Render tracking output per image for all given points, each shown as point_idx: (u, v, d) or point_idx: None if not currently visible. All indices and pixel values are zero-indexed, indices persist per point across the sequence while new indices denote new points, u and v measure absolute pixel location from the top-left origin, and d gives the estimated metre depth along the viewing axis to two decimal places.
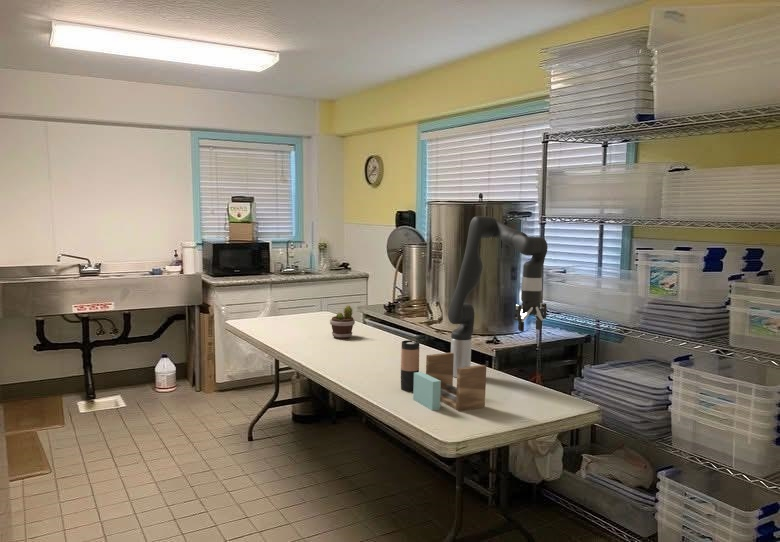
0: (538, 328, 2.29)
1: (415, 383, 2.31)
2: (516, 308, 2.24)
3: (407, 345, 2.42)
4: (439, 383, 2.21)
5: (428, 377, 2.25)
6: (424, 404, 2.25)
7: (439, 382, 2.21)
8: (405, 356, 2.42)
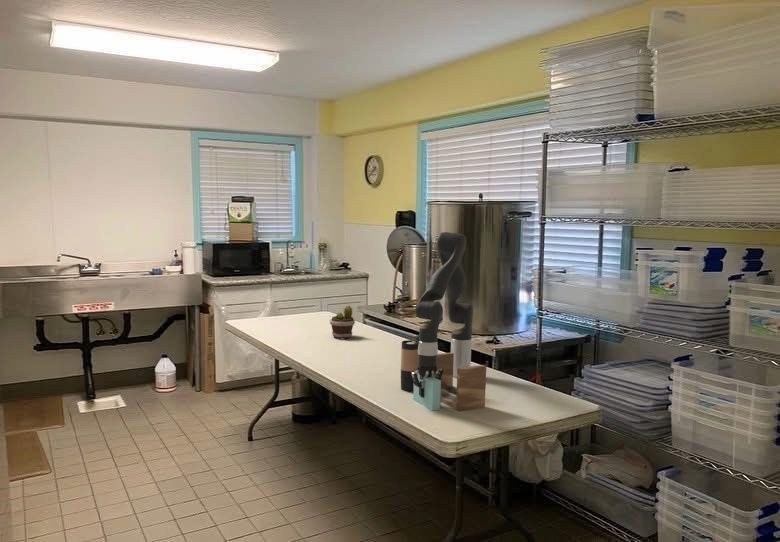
0: None
1: None
2: (412, 376, 2.24)
3: (407, 345, 2.42)
4: (439, 383, 2.21)
5: (428, 377, 2.25)
6: (424, 404, 2.25)
7: (439, 382, 2.21)
8: (405, 356, 2.42)
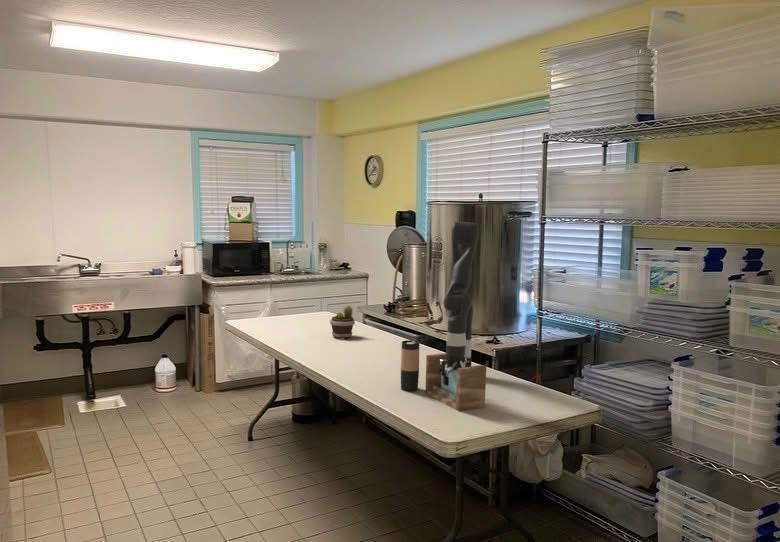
0: None
1: None
2: (440, 363, 2.29)
3: (407, 345, 2.42)
4: None
5: (456, 369, 2.31)
6: None
7: None
8: (405, 356, 2.42)
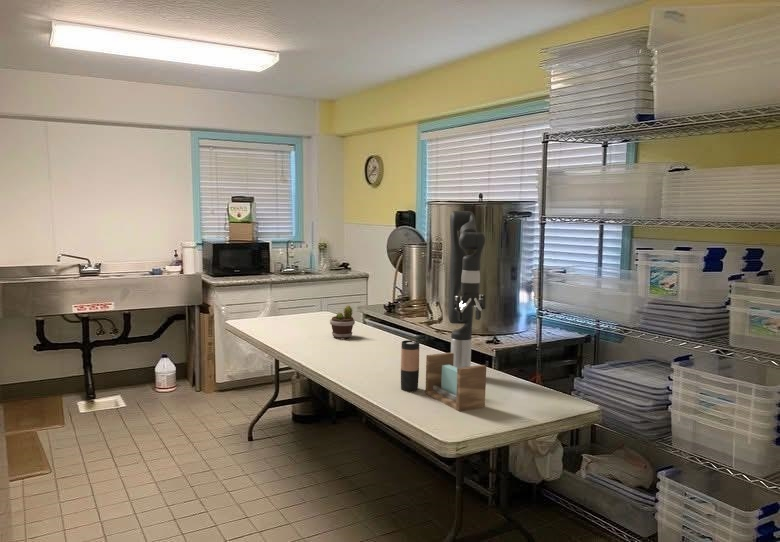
0: (477, 318, 2.44)
1: (443, 375, 2.37)
2: (455, 299, 2.38)
3: (407, 345, 2.42)
4: None
5: (456, 369, 2.31)
6: None
7: None
8: (405, 356, 2.42)
